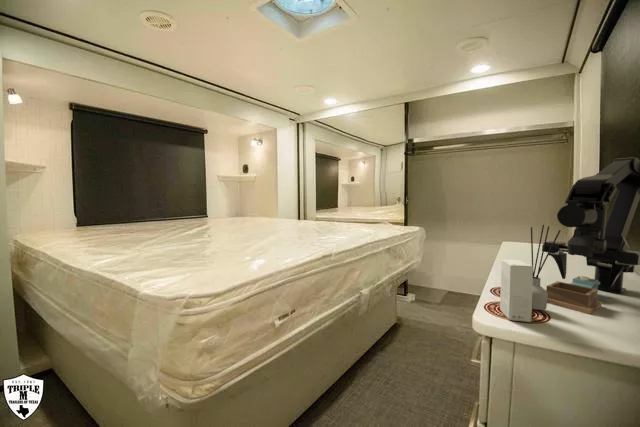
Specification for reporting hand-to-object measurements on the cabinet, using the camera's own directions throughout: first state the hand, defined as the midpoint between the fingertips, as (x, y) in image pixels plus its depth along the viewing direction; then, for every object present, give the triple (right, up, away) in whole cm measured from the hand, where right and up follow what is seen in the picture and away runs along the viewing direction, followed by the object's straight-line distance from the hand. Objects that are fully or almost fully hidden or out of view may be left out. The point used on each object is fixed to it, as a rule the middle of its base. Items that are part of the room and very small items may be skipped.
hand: (585, 283), depth 75 cm
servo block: (0, -4, 0) cm, 4 cm away
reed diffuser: (-22, -4, -11) cm, 25 cm away
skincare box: (-29, -4, -14) cm, 32 cm away
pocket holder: (-9, -4, -6) cm, 12 cm away
